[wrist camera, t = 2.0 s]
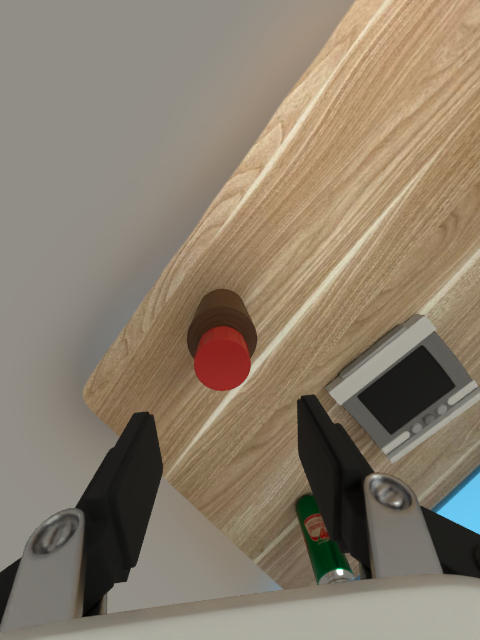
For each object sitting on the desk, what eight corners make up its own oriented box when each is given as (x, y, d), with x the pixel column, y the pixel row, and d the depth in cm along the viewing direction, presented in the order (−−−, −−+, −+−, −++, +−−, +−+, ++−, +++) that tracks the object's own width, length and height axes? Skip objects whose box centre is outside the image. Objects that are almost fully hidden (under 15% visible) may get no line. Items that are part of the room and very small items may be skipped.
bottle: (201, 336, 35) (183, 407, 19) (196, 291, 33) (171, 324, 17) (246, 332, 35) (268, 397, 19) (243, 287, 34) (264, 316, 17)
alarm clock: (392, 463, 39) (336, 402, 34) (373, 441, 43) (321, 384, 38) (486, 394, 37) (441, 319, 32) (456, 378, 41) (413, 309, 36)
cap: (201, 373, 21) (197, 393, 18) (195, 328, 20) (190, 341, 17) (247, 368, 21) (252, 388, 18) (244, 323, 20) (248, 335, 17)
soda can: (323, 490, 44) (359, 576, 32) (322, 513, 45) (357, 602, 33) (294, 494, 43) (321, 581, 32) (294, 516, 45) (320, 607, 33)
